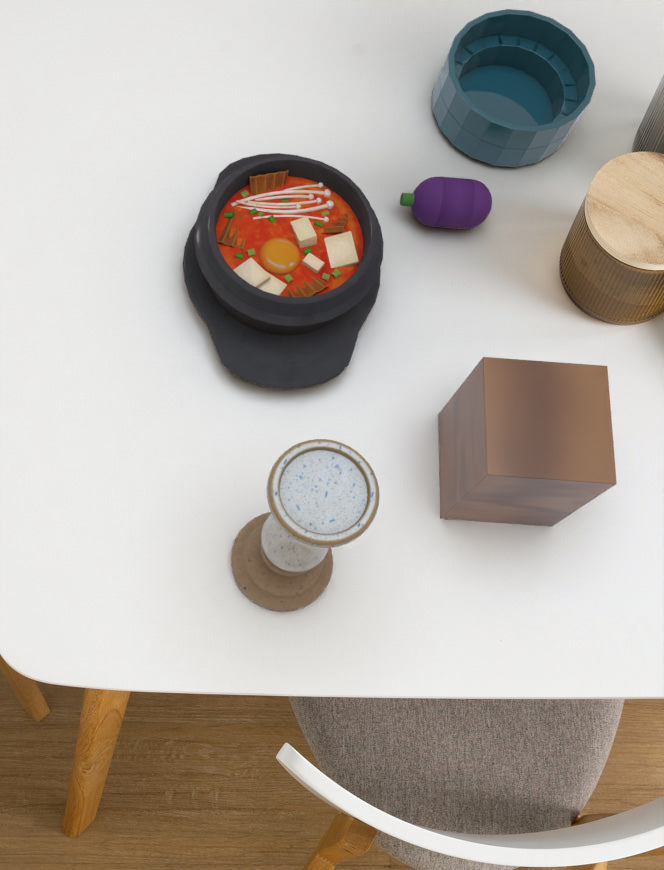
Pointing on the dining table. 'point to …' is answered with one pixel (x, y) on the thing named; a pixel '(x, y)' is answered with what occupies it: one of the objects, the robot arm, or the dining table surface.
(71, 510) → the dining table surface
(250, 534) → the candle holder
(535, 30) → the bowl
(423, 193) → the toy eggplant
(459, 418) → the cube
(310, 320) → the casserole
